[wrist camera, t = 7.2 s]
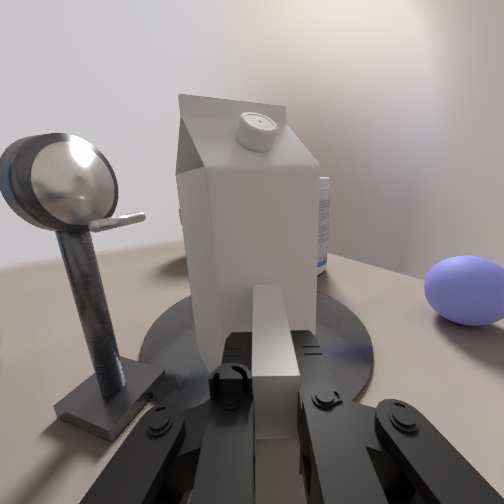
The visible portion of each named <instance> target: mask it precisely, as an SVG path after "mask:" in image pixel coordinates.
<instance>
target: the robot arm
mask: <svg viewBox="0 0 504 504" xmlns="http://www.w3.org/2000/svg"><path fill="white" fill-rule="evenodd" d="M208 381H209V390H210V398H209V399H208V400H207V401H206V402H204V403H203V404H201V405H199V406H196V407H193V408H190V409H187V410H184V411H182V409H181V408H180V406H178V405H176V404H174V403H163V404H159V405H156V406H155V407H153V408H151V409H150V410H148V411H147V412H146V413H145V414H144V415H143V416H142V417H141V418H140V420H139V421H138V422H137V424H136V425H135V427H134V428H133V429H132V431H131V432H130V434H129V435H128V436H127V438H126V439H125V440H124V442H123V443H122V445H121V446H120V447H119V449H118V450H117V452H116V453H115V454H114V456H113V457H112V459H111V460H110V461H109V463H108V464H107V465H106V467H105V468H104V470H103V471H102V472H101V474H100V475H99V477H98V478H97V479H96V481H95V482H94V484H93V485H92V486H91V488H90V489H89V490H88V492H87V493H86V495H85V496H84V497H83V499H82V500H81V502H80V503H79V504H186V503H187V500H188V498H189V495H190V493H191V490H192V489H193V492H192V497H191V502H190V504H255V439H298V434H299V440H300V468H299V474H303V480H304V487H305V493H306V499H307V504H504V499H503V498H502V497H501V495H500V494H499V493H498V492H497V491H496V490H495V489H494V488H493V487H492V486H491V485H490V484H489V483H488V482H487V481H486V480H485V479H484V478H483V477H482V476H481V475H480V474H479V473H478V472H477V471H476V470H475V468H474V467H473V466H472V465H471V464H470V463H469V462H468V461H467V460H466V459H465V458H464V457H463V456H462V455H461V454H460V453H459V452H458V451H457V450H456V449H455V448H454V447H453V446H452V445H451V444H450V443H449V441H448V440H447V439H446V438H445V437H444V436H443V435H442V434H441V433H440V432H439V431H438V430H437V429H436V428H435V427H434V426H433V425H432V424H431V423H430V422H429V421H428V420H427V419H426V418H425V417H424V416H423V414H421V413H420V412H419V411H418V410H417V409H415V408H414V407H413V406H411V405H409V404H407V403H405V402H403V401H399V400H395V399H385V400H383V401H381V402H379V404H378V406H377V408H373V407H370V406H366V405H362V404H359V403H356V402H353V401H351V400H350V399H348V398H346V397H345V396H344V395H343V393H342V391H341V390H339V389H338V388H337V387H336V386H335V385H334V383H333V380H332V378H331V375H330V372H329V370H328V367H327V364H326V362H325V359H324V356H323V355H322V351H321V348H320V346H319V343H318V340H317V338H316V336H315V335H313V334H312V333H311V332H310V331H309V330H290V329H289V324H288V320H287V315H286V311H285V306H284V302H283V297H282V293H281V288H280V284H262V285H253V330H252V332H231V333H230V335H229V336H228V337H227V338H226V340H225V345H224V351H223V357H222V362H221V365H220V366H218V367H217V368H216V369H215V370H213V371H212V372H211V374H210V376H209V379H208Z"/></svg>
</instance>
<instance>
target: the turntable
mask: <svg viewBox="0 0 504 504" xmlns="http://www.w3.org/2000/svg"><path fill="white" fill-rule="evenodd" d="M315 336H316V338H317V340H318V343H319V346H320V348H321V351H322V355H323V356H324V359H325V362H326V364H327V367H328V370H329V372H330V375H331V378H332V380H333V383H334V385H335V386H336V387H337V388H338V389H339V390H341V391H342V393H343V395H344V396H345V397H346V398H348V399H350V400H351V401H354V400H355V399H356V398H357V397H358V395H359V394H360V393H361V391H362V390H363V388H364V387H365V385H366V383H367V381H368V378H369V376H370V373H371V368H372V362H373V347H372V343H371V339H370V336H369V334H368V332H367V330H366V328H365V327H364V325H363V324H362V322H361V321H360V320H359V318H358V317H357V316H356V315H355V314H354V313H353V312H352V311H350V310H349V309H348V308H347V307H346V306H344V305H343V304H341V303H340V302H338V301H337V300H335V299H333V298H331V297H329V296H328V295H325V294H323V293H321V292H318V291H317V296H316V332H315ZM140 362H141V363H144V364H148V365H151V366H155V367H158V368H161V369H165V374H166V376H165V377H164V378H163V379H162V380H161V382H160V383H159V384H158V385H157V386H156V387H155V388H154V389H153V391H152V394H153V396H154V398H155V399H156V400H157V401H158V402H159V403H160V404H163V403H174V404H176V405H178V406H180V408H181V409H182V411H184V410H187V409H190V408H193V407H196V406H199V405H201V404H203V403H204V402H206V401H207V400H208V399H209V398H210V390H209V381H208V379H209V376H210V374H209V372H208V370H207V368H206V365H205V363H204V361H203V359H202V357H201V355H200V353H199V351H198V345H197V337H196V330H195V322H194V314H193V306H192V298H191V296H189V297H186V298H185V299H183V300H181V301H179V302H178V303H176V304H175V305H173V306H172V307H170V308H169V309H168V310H166V311H165V312H164V313H163V314H162V315H161V316H160V317H159V318H158V319H157V320H156V321H155V322H154V323H153V325H152V326H151V328H150V329H149V330H148V332H147V334H146V336H145V338H144V341H143V345H142V348H141V357H140Z"/></svg>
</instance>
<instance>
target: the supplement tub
mask: <svg viewBox="0 0 504 504" xmlns="http://www.w3.org/2000/svg"><path fill="white" fill-rule="evenodd" d="M329 204H330V186H329V177H320V189H319V225H318V261H317V275H318V274H320V273H322V272H323V271H324V270H325V268H326V266H327V248H328V247H327V246H328V226H329Z"/></svg>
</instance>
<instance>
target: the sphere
mask: <svg viewBox="0 0 504 504" xmlns="http://www.w3.org/2000/svg"><path fill="white" fill-rule="evenodd" d="M424 289H425V296H426V299H427V301H428V302H429V304H430V305H431V306H432V307H433V309H434V310H435V311H436V312H437V313H438V314H440V315H441V316H443V317H444V318H446V319H448V320H450V321H452V322H455V323H458V324H462V325H469V326H482V325H488V324H492V323H494V322H497V321H499V320H501V319H503V318H504V269H503V268H502V267H501V266H499V265H498V264H496V263H494V262H492V261H490V260H487V259H485V258H481V257H476V256H456V257H452V258H448V259H445V260H443V261H441V262H440V263H438V264H437V265H435V266H434V267H433V268H432V269H431V270H430V271H429V273H428V274H427V276H426V279H425V284H424Z"/></svg>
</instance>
